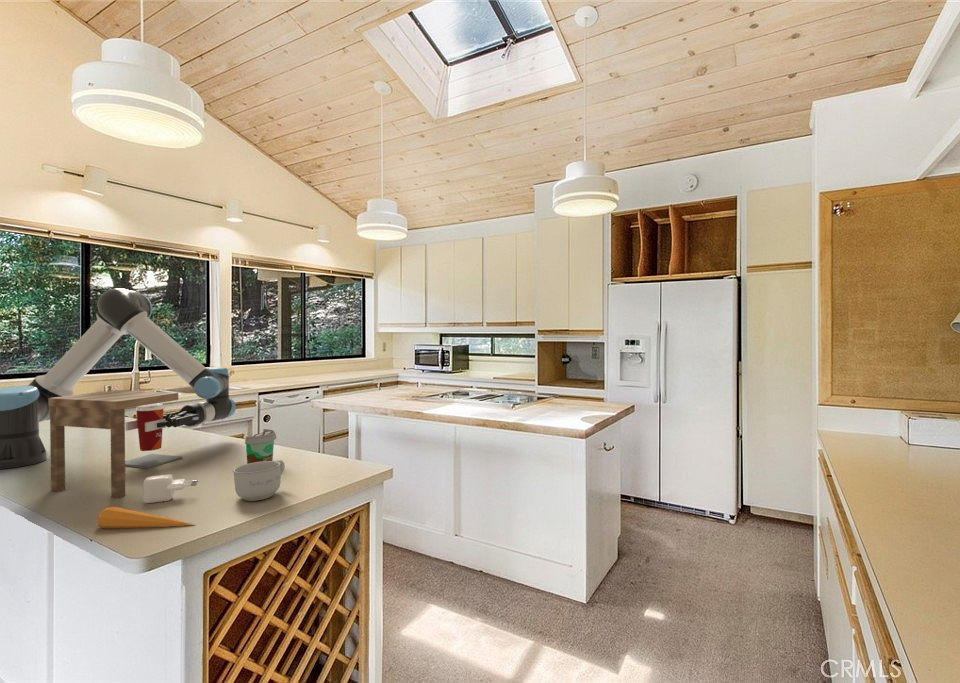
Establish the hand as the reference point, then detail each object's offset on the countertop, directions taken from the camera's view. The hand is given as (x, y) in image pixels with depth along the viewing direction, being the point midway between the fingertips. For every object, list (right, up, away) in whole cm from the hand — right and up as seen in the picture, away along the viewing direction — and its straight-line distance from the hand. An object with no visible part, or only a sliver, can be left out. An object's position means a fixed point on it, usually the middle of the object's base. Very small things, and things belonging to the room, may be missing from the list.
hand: (136, 426), depth 147 cm
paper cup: (+1, -8, +5) cm, 10 cm away
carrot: (+35, -14, -45) cm, 59 cm away
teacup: (+50, -13, -25) cm, 58 cm away
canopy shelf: (+7, -12, -17) cm, 22 cm away
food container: (+38, -12, +2) cm, 40 cm away
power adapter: (+29, -13, -28) cm, 43 cm away
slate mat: (+1, -12, +5) cm, 13 cm away
